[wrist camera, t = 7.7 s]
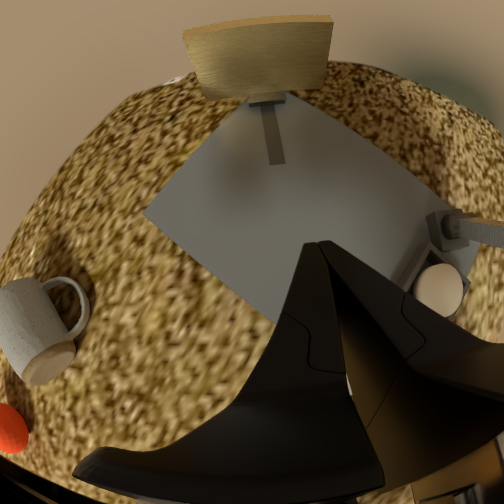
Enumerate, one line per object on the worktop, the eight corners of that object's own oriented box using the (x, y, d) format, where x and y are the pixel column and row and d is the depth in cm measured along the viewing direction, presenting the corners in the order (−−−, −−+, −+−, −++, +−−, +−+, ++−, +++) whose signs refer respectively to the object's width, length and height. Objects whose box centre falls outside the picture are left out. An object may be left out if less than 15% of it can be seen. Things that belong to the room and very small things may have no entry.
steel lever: (464, 237, 17) (548, 260, 8) (441, 240, 17) (528, 267, 8) (463, 208, 17) (549, 220, 8) (440, 210, 17) (530, 223, 8)
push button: (436, 326, 16) (447, 327, 15) (403, 297, 17) (414, 297, 15) (457, 285, 17) (469, 283, 15) (427, 256, 17) (438, 252, 16)
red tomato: (6, 424, 21) (-25, 435, 14) (2, 386, 22) (-34, 393, 15) (41, 454, 20) (8, 470, 13) (36, 414, 21) (-3, 428, 14)
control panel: (376, 395, 19) (394, 413, 15) (154, 222, 23) (131, 207, 19) (466, 245, 20) (493, 235, 16) (267, 98, 25) (264, 68, 20)
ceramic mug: (61, 383, 22) (11, 397, 14) (25, 324, 23) (-24, 323, 15) (111, 320, 22) (56, 323, 15) (68, 258, 24) (15, 243, 16)
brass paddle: (324, 101, 21) (338, 29, 13) (208, 114, 21) (182, 45, 14) (316, 78, 21) (325, 9, 13) (207, 90, 22) (184, 23, 14)
